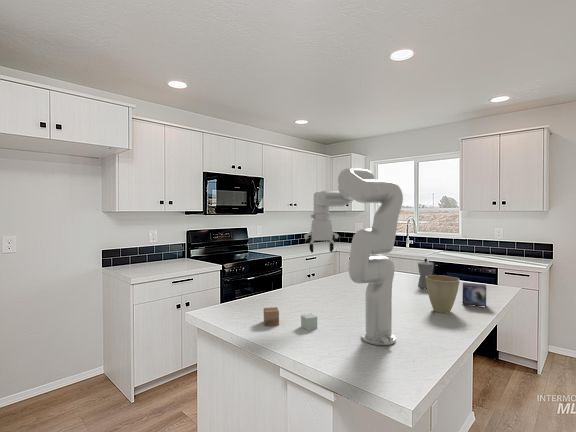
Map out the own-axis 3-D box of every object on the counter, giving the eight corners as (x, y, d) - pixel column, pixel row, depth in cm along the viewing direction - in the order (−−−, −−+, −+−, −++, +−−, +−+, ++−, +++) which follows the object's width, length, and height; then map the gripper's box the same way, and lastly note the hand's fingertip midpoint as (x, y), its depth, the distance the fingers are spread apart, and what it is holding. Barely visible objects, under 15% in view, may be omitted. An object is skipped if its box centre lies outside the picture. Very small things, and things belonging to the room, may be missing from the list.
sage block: (317, 328, 138) (317, 316, 137) (306, 330, 136) (306, 318, 135) (311, 325, 142) (311, 313, 142) (301, 326, 140) (301, 315, 140)
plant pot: (448, 318, 150) (448, 282, 149) (419, 309, 162) (419, 277, 162) (465, 312, 158) (466, 278, 157) (436, 304, 170) (437, 273, 170)
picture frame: (462, 305, 169) (462, 284, 169) (462, 302, 175) (462, 282, 175) (486, 308, 164) (486, 287, 164) (485, 304, 170) (485, 284, 170)
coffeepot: (424, 290, 201) (424, 260, 201) (412, 286, 209) (412, 258, 209) (441, 287, 208) (441, 258, 208) (429, 284, 216) (429, 256, 216)
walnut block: (279, 325, 142) (278, 311, 142) (265, 326, 141) (264, 311, 141) (277, 320, 148) (277, 307, 148) (263, 321, 147) (263, 307, 147)
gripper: (305, 217, 158) (305, 253, 158) (340, 217, 160) (340, 252, 161) (302, 217, 165) (302, 251, 166) (336, 216, 168) (336, 250, 168)
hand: (321, 251), depth 163 cm, fingers open, 9 cm apart
